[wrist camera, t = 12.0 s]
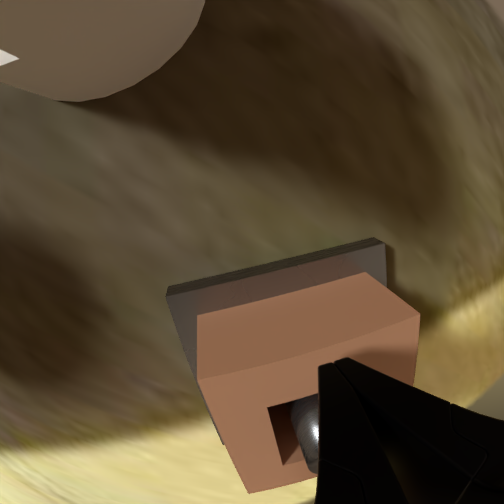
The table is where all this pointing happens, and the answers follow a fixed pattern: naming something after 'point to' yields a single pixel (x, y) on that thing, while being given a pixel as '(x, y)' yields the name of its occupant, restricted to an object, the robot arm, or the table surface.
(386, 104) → the table surface
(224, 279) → the grey base with peg
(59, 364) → the table surface
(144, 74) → the cylinder with rectangular tab
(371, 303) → the collar
